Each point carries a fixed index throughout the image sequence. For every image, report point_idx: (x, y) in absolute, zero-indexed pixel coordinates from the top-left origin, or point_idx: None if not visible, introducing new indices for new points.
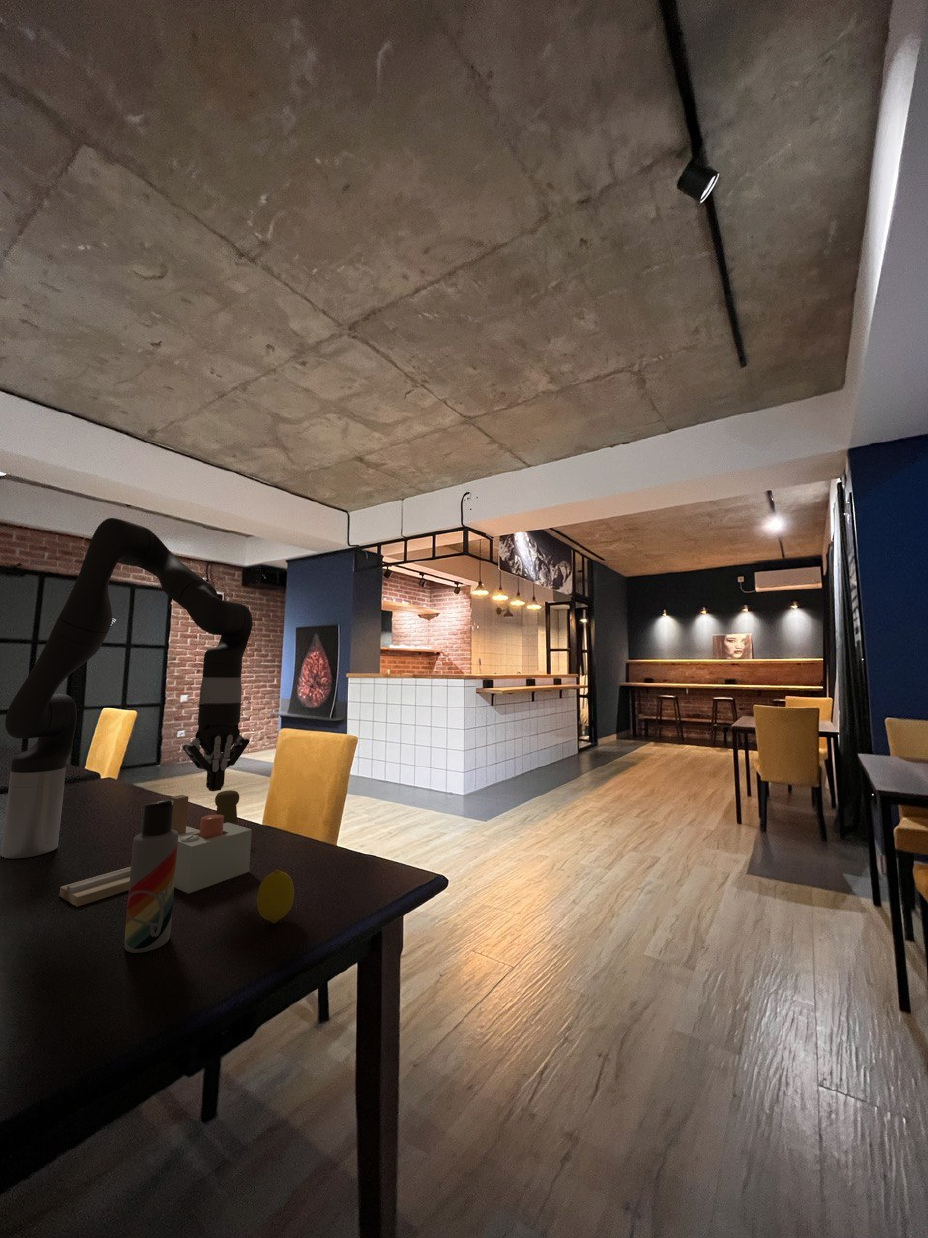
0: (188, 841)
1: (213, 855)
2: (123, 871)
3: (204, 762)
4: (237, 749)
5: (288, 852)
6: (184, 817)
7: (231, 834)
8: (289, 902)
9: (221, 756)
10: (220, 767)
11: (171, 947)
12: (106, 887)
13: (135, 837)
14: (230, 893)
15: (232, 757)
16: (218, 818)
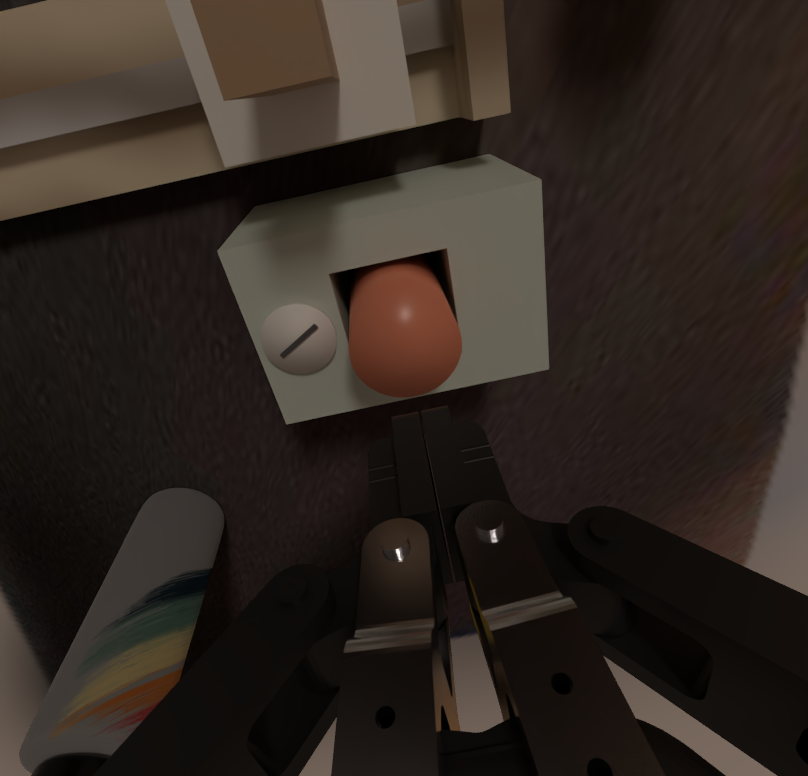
0: (286, 367)
1: None
2: (86, 108)
3: (299, 726)
4: (753, 749)
5: (702, 215)
6: (320, 82)
7: (457, 379)
8: None
9: (505, 719)
10: (472, 609)
11: (224, 546)
12: (46, 202)
13: (22, 762)
14: (394, 408)
15: (627, 671)
16: (421, 384)
